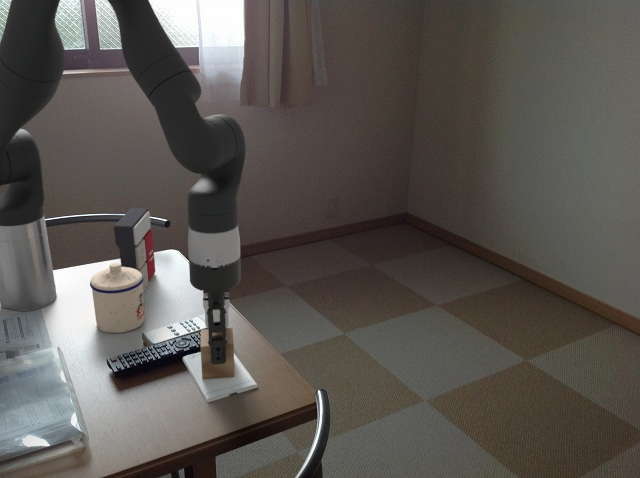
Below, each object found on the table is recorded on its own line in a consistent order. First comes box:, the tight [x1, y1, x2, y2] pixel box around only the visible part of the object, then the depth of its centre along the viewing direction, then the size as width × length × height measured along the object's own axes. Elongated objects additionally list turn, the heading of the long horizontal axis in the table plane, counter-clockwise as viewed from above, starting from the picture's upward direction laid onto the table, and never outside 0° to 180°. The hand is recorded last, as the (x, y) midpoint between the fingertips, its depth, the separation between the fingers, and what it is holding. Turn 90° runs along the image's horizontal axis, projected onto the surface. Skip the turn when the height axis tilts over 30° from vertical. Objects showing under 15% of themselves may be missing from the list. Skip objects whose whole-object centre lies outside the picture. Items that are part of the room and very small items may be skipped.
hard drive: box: [182, 351, 259, 403], centre depth 95 cm, size 2×8×12 cm
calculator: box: [113, 207, 156, 292], centre depth 120 cm, size 11×4×15 cm, turn 179°
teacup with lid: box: [89, 262, 146, 334], centre depth 108 cm, size 12×9×12 cm
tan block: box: [200, 327, 235, 380], centre depth 93 cm, size 5×5×6 cm
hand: (218, 347), depth 93 cm, fingers open, 8 cm apart
